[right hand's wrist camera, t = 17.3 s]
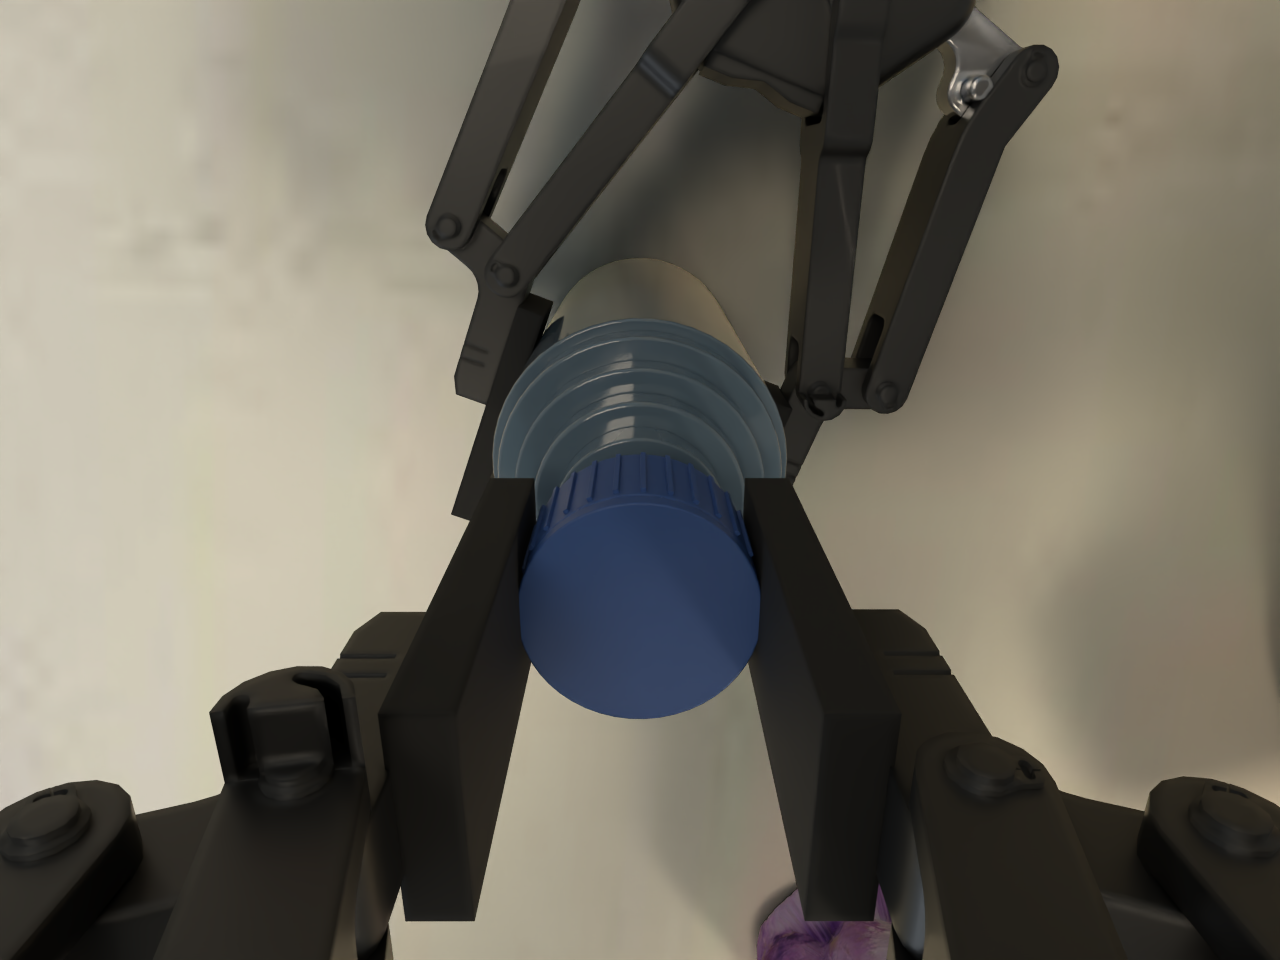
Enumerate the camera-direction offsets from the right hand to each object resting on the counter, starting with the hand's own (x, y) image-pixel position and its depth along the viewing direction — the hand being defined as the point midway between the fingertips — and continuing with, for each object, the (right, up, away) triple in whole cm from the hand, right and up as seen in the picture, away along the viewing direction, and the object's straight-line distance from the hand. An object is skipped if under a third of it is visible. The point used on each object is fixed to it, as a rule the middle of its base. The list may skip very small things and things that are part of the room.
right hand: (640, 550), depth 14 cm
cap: (0, -1, -2) cm, 2 cm away
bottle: (0, +6, +16) cm, 17 cm away
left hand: (-2, -1, +12) cm, 12 cm away
